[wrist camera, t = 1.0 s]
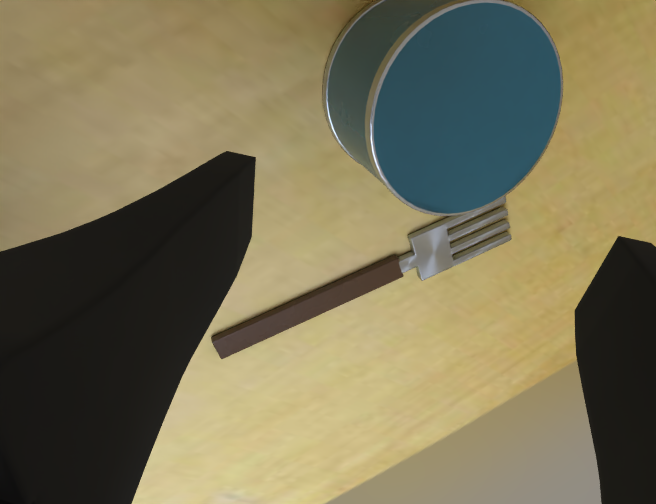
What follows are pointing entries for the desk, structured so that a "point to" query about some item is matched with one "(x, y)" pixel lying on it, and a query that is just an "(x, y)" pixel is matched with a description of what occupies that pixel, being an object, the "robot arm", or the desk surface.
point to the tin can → (444, 99)
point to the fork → (377, 275)
